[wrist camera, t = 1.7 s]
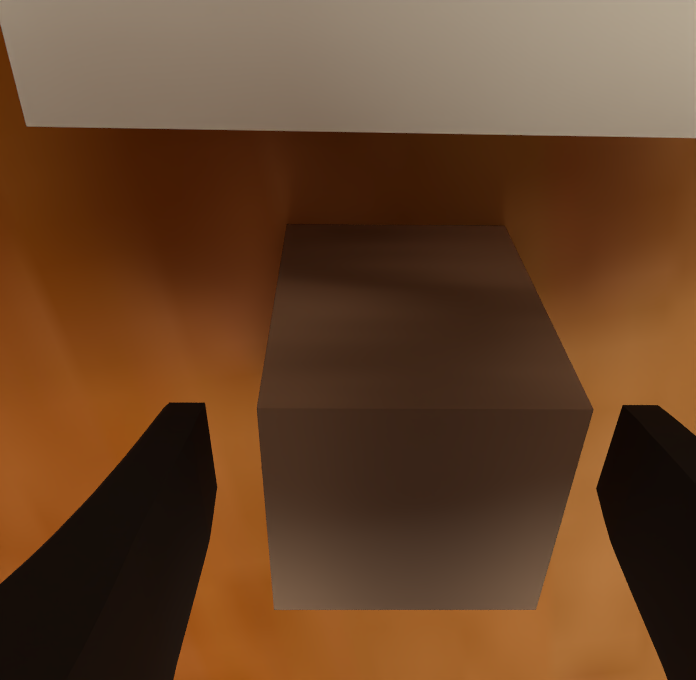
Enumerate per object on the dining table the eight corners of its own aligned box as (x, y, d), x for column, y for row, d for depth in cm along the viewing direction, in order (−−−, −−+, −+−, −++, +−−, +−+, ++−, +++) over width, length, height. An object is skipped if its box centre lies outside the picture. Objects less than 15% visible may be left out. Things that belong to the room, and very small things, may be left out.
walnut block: (294, 393, 17) (274, 609, 12) (287, 223, 14) (256, 408, 9) (477, 394, 17) (535, 609, 12) (504, 225, 14) (593, 409, 9)
